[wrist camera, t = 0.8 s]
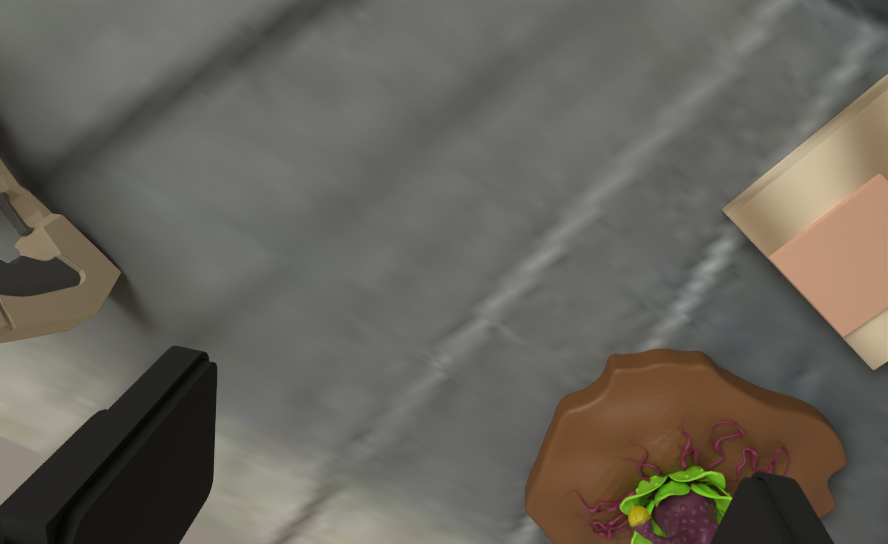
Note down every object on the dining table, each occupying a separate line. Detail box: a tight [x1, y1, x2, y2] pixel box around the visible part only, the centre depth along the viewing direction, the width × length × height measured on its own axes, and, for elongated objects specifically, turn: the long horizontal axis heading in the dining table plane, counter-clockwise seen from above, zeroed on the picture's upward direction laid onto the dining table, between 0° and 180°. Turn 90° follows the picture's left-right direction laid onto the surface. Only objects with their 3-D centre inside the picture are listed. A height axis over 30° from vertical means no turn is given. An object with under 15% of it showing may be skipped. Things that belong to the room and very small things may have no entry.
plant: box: [525, 349, 847, 544], centre depth 40 cm, size 20×20×11 cm
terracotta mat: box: [768, 174, 888, 337], centre depth 36 cm, size 7×7×1 cm
